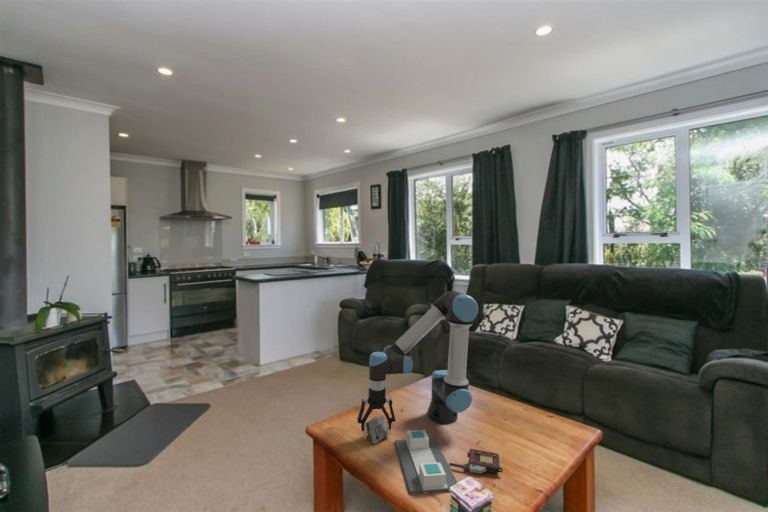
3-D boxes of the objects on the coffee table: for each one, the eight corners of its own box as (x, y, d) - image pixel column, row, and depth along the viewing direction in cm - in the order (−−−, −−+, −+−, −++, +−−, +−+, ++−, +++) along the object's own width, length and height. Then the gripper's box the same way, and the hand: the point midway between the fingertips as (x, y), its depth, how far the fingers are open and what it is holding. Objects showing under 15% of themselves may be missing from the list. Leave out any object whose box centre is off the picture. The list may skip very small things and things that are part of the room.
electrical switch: (374, 445, 152) (373, 423, 153) (365, 441, 156) (364, 420, 156) (387, 436, 160) (386, 415, 160) (378, 433, 163) (377, 413, 163)
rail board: (434, 440, 157) (435, 427, 157) (459, 490, 126) (460, 474, 125) (395, 442, 155) (395, 429, 155) (410, 494, 123) (410, 478, 123)
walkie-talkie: (503, 474, 131) (448, 464, 137) (502, 482, 133) (448, 471, 138) (502, 453, 139) (450, 444, 144) (501, 460, 141) (450, 451, 146)
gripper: (352, 392, 152) (351, 443, 152) (403, 390, 155) (401, 440, 155) (351, 385, 159) (350, 433, 160) (400, 383, 162) (398, 431, 163)
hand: (376, 437), depth 158 cm, fingers closed on electrical switch, 9 cm apart
